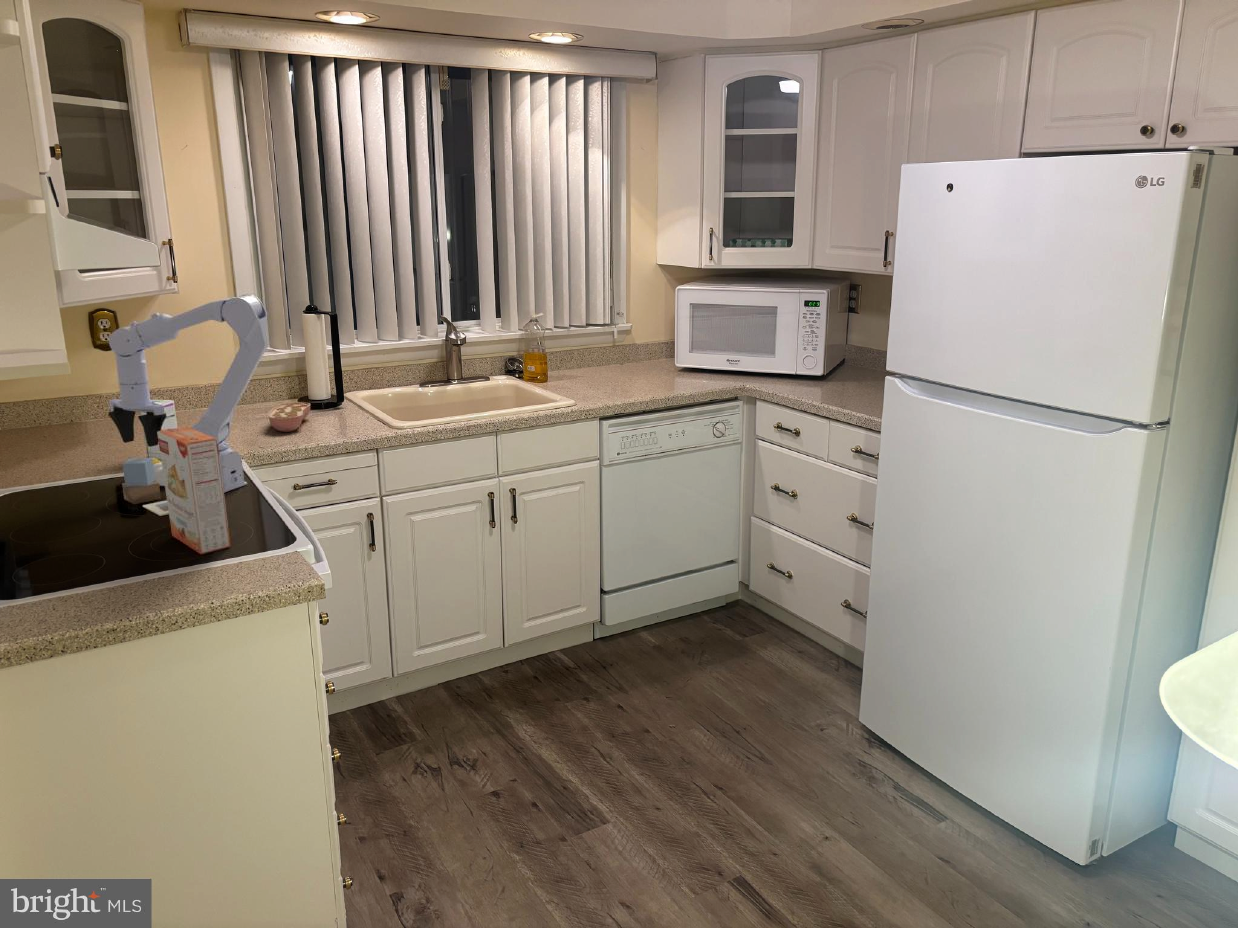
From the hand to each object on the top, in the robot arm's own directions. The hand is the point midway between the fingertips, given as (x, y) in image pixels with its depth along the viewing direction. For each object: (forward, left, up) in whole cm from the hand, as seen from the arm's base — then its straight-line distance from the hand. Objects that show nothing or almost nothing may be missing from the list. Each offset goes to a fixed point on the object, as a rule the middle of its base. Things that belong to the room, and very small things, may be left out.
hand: (140, 443), depth 205 cm
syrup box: (+19, -23, -11) cm, 31 cm away
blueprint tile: (-15, +9, -10) cm, 21 cm away
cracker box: (-38, +23, -11) cm, 46 cm away
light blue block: (-5, +6, -7) cm, 11 cm away
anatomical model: (+14, -64, -11) cm, 66 cm away
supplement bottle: (+5, -6, -8) cm, 11 cm away
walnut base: (-5, +6, -10) cm, 13 cm away
